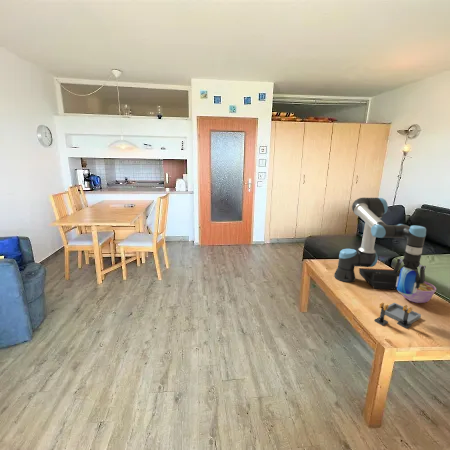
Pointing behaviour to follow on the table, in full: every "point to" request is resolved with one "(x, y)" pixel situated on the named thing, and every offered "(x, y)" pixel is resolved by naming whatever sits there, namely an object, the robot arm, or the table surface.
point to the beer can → (406, 281)
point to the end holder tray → (401, 313)
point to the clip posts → (403, 324)
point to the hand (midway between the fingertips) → (405, 289)
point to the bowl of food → (422, 293)
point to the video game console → (379, 278)
